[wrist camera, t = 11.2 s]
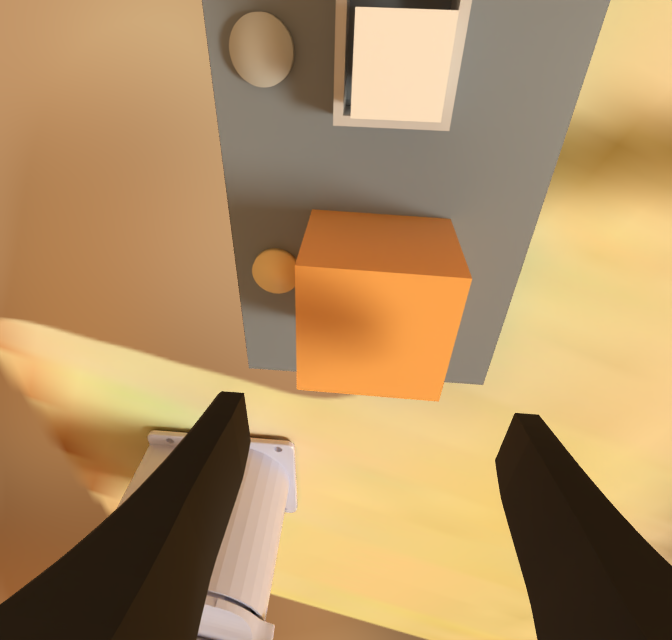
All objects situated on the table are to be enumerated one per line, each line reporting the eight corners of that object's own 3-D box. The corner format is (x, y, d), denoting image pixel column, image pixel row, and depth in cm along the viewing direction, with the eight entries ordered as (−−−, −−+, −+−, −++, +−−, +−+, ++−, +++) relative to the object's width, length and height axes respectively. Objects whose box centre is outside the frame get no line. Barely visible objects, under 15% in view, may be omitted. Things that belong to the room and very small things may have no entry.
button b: (353, 104, 13) (350, 118, 11) (358, 6, 11) (355, 6, 10) (432, 108, 13) (440, 122, 11) (447, 9, 11) (459, 10, 10)
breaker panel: (254, 352, 23) (241, 390, 21) (187, -230, 11) (139, -291, 9) (478, 368, 22) (489, 408, 20) (663, -224, 10) (741, -288, 8)
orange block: (310, 319, 20) (296, 389, 16) (311, 209, 17) (294, 265, 13) (426, 329, 20) (438, 401, 16) (450, 218, 16) (472, 278, 13)
